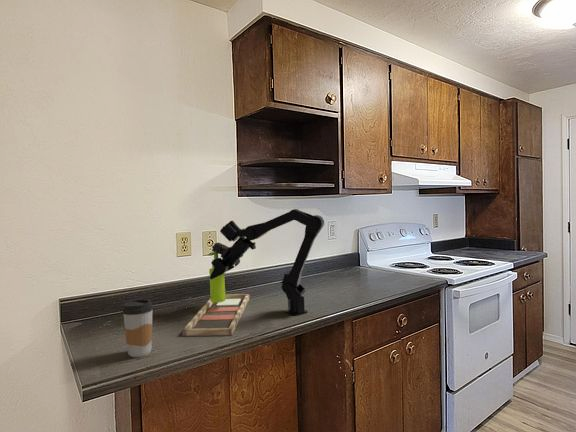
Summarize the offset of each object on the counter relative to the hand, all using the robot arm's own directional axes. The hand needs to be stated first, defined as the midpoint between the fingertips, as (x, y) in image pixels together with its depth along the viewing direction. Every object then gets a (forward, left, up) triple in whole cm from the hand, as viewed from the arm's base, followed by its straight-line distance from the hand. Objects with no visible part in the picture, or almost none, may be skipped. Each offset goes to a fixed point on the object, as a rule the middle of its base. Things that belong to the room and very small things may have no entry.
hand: (213, 276), depth 147 cm
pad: (+4, -9, -13) cm, 16 cm away
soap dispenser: (-1, -1, -10) cm, 10 cm away
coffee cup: (-26, +35, -13) cm, 46 cm away
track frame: (-8, +1, -13) cm, 15 cm away
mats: (-8, +1, -13) cm, 15 cm away
